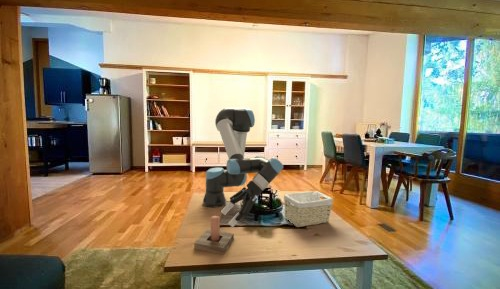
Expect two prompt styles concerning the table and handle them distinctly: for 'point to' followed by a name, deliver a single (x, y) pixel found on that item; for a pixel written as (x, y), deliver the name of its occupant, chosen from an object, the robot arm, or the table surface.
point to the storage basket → (307, 208)
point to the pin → (215, 228)
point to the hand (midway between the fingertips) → (226, 219)
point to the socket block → (212, 246)
